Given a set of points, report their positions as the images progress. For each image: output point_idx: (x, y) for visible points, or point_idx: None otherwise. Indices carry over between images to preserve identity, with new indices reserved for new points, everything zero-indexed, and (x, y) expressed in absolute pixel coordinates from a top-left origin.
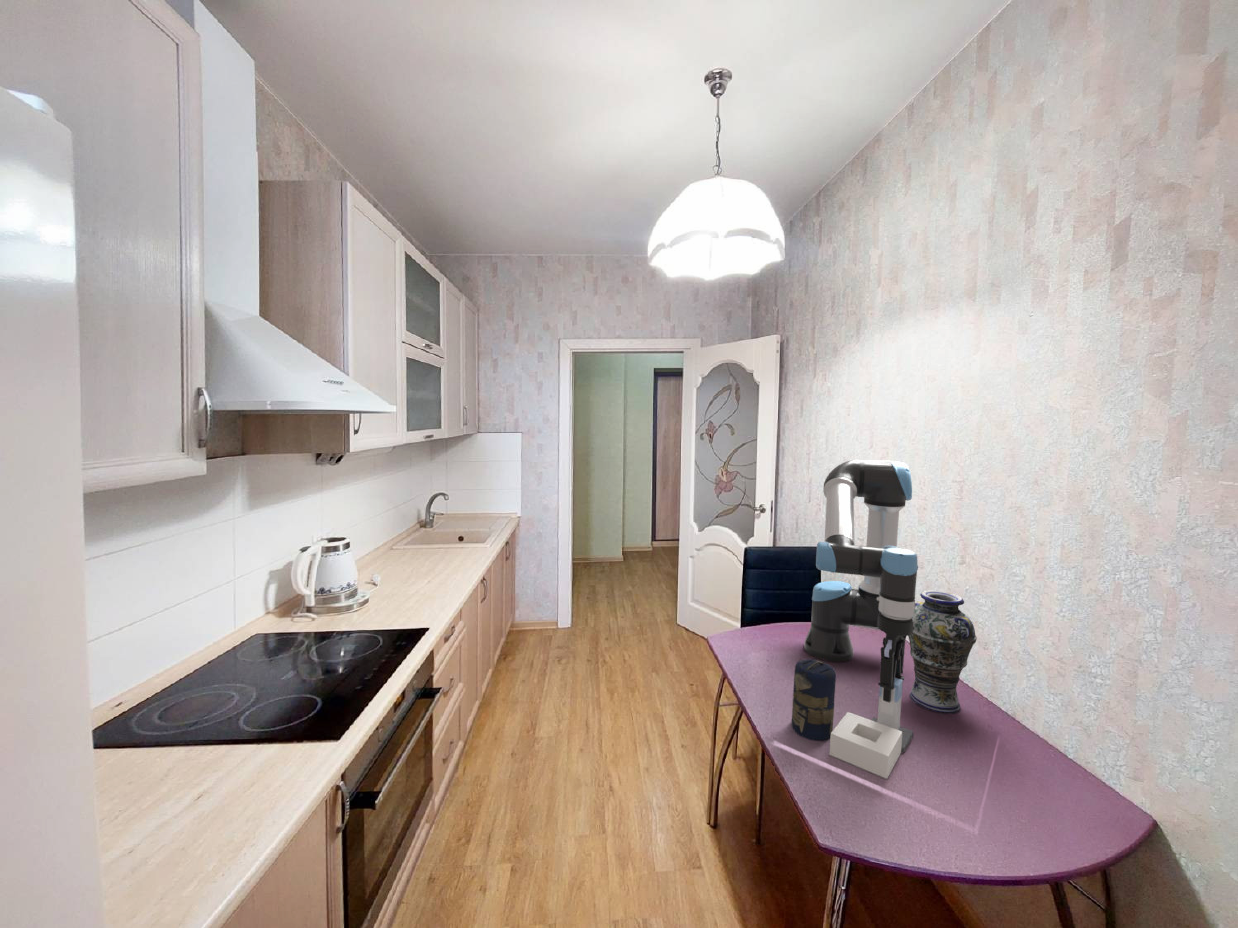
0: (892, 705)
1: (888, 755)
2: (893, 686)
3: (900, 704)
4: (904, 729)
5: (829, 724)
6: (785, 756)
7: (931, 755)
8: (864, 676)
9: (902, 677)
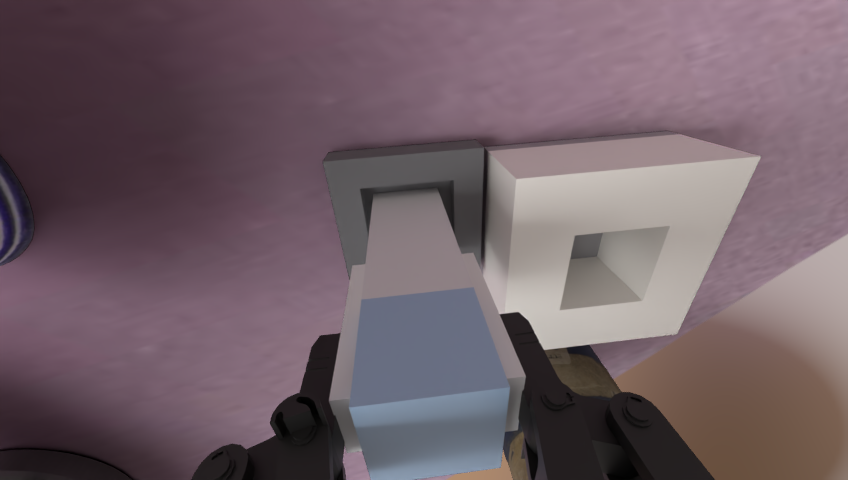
0: (488, 289)
1: (755, 157)
2: (566, 405)
3: (380, 266)
4: (340, 190)
5: (573, 349)
6: (661, 336)
7: (388, 57)
8: (72, 391)
9: (297, 421)
